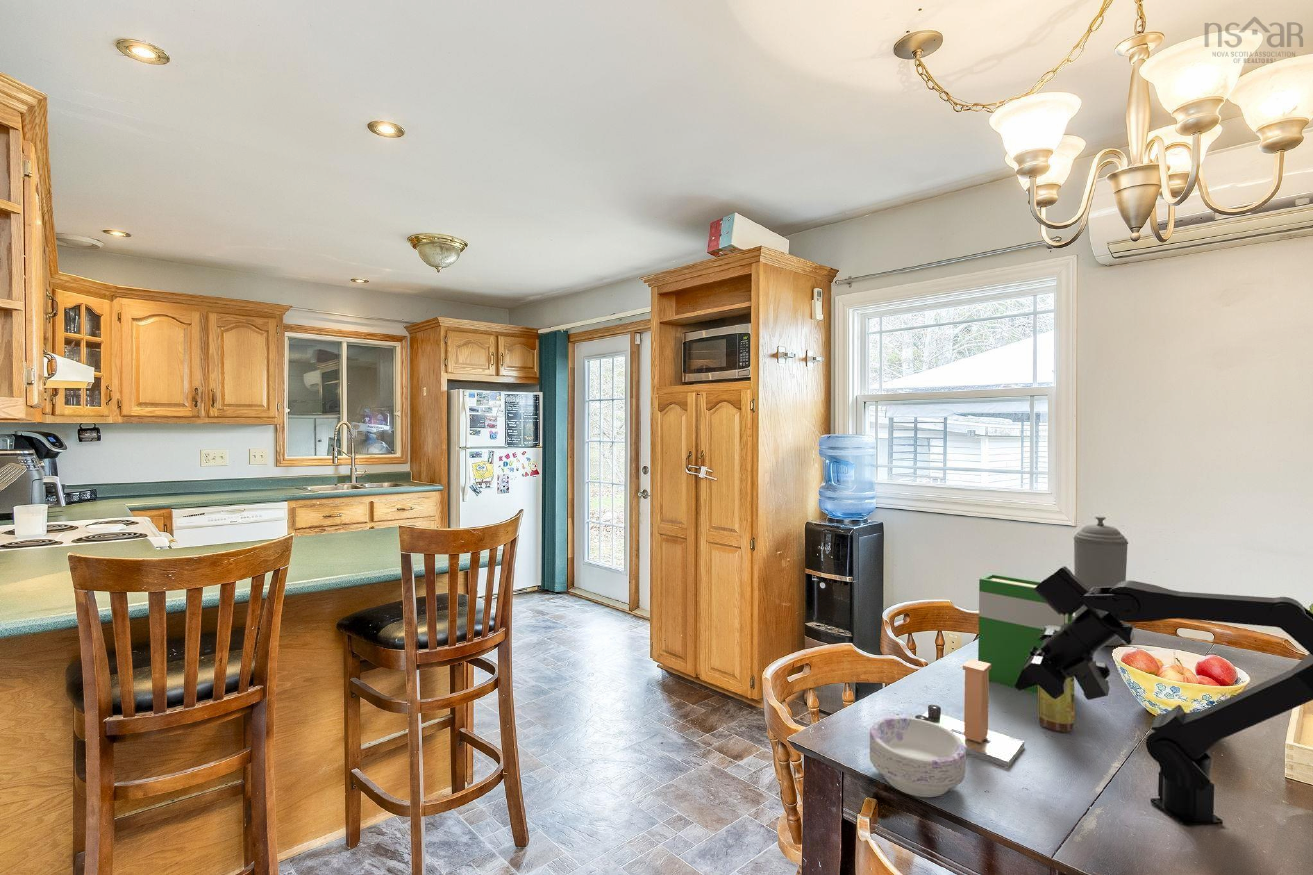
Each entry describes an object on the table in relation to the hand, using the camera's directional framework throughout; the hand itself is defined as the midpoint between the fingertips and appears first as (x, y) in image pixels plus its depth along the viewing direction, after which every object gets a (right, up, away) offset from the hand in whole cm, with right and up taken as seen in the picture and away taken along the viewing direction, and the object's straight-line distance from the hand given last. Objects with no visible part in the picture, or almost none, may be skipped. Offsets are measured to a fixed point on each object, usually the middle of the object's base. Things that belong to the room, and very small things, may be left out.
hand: (1016, 687), depth 117 cm
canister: (+59, -12, +63) cm, 87 cm away
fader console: (-6, -13, +6) cm, 16 cm away
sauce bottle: (+15, -13, +12) cm, 23 cm away
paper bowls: (-22, -13, -8) cm, 27 cm away
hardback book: (+20, -12, +33) cm, 40 cm away
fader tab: (-5, -11, +5) cm, 13 cm away
